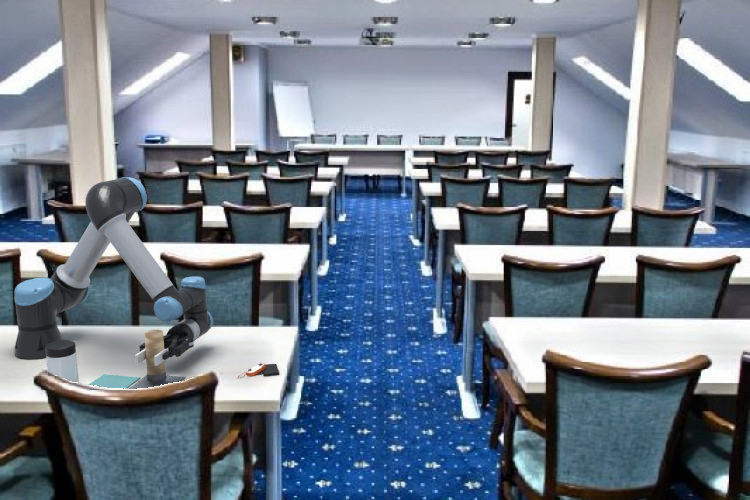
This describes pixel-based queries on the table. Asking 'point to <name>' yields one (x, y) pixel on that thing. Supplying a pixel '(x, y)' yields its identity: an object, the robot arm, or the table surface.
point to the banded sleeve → (152, 348)
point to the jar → (62, 359)
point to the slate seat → (145, 383)
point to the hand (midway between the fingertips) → (146, 360)
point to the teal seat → (114, 381)
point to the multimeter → (263, 370)
